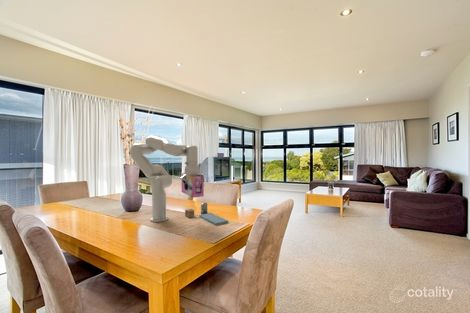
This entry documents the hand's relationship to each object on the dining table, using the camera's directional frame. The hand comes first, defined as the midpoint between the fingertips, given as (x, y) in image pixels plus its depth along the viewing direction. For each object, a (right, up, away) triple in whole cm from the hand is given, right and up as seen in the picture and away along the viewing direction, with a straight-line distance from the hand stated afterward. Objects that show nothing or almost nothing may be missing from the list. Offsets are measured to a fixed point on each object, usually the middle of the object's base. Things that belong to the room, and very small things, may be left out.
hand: (192, 188), depth 157 cm
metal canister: (+5, -23, +25) cm, 34 cm away
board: (+14, -23, +8) cm, 28 cm away
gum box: (0, -4, 0) cm, 4 cm away
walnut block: (-5, -23, +17) cm, 29 cm away
